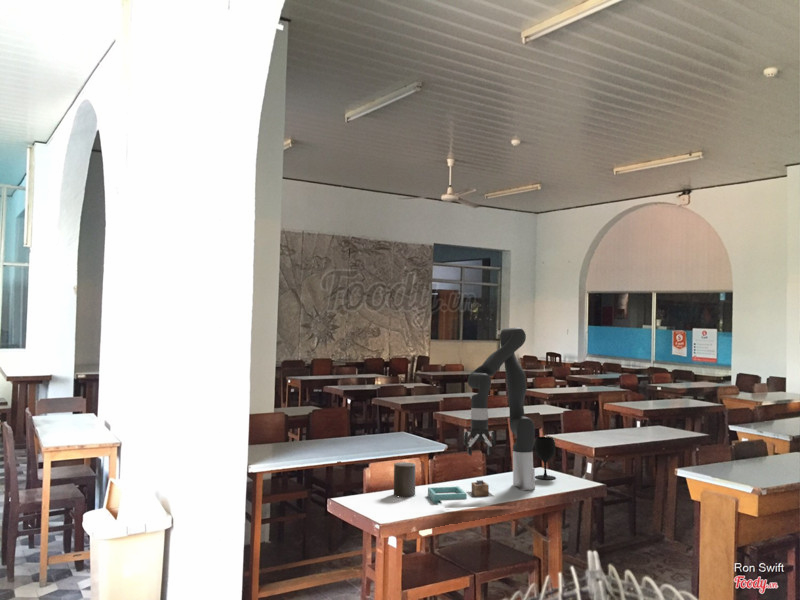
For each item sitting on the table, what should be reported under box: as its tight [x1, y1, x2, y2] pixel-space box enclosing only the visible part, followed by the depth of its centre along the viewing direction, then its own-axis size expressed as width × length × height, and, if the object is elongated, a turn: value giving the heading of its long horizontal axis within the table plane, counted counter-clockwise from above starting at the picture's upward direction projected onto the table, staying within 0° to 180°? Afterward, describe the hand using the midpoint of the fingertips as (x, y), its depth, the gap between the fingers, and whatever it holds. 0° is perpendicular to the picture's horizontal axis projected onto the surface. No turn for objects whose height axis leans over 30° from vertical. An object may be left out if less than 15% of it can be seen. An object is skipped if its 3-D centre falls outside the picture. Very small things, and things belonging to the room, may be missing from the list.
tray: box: [427, 486, 468, 504], centre depth 279 cm, size 14×14×4 cm
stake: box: [466, 479, 494, 498], centre depth 281 cm, size 10×10×7 cm
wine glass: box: [533, 436, 557, 481], centre depth 322 cm, size 10×10×20 cm
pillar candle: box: [393, 461, 417, 498], centre depth 286 cm, size 10×10×15 cm
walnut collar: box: [471, 481, 490, 496], centre depth 281 cm, size 6×6×4 cm
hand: (479, 455), depth 282 cm, fingers open, 8 cm apart
